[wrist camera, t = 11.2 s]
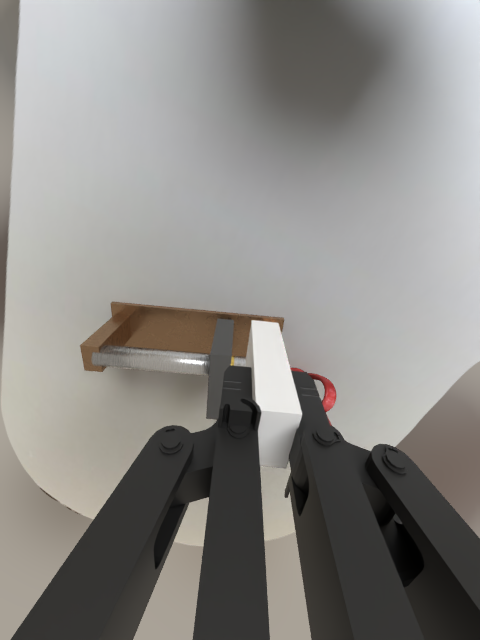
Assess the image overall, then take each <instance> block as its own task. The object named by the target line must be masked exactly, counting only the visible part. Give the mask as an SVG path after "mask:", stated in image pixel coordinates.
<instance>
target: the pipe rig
mask: <svg viewBox="0 0 480 640" xmlns="http://www.w3.org/2000/svg"><path fill="white" fill-rule="evenodd" d="M111 310H112V318H111V319H110V320H109V321H107V322H106V323H105V324H104V325H103V326H102V327H101V328H99V329H98V330H97V331H96V332H95V333H94V334H93V335H91V336H90V337H89V338H88V339H87V340H86V341H85V342H83V343H82V344H81V345H80V347H81V353H82V358H83V364H84V369H85V370H86V371H98V372H103V370H104V369H105V368H106V367H112V368H124V369H136V370H148V371H159V372H171V373H183V374H195V375H207V376H209V366H210V353H211V348H212V343H213V338H214V333H215V328H216V324H217V319H228V320H234V328H233V344H232V359H231V365H233V366H243V367H246V355H247V348H248V341H249V335H250V328H251V321H252V320H256V321H265V322H275V323H279V327H280V331H281V334H282V329H283V323H284V318H280V317H269V316H258V315H248V314H237V313H226V312H216V311H205V310H195V309H184V308H173V307H163V306H152V305H141V304H131V303H120V302H112V303H111ZM123 346H129V347H123ZM135 347H140V348H135ZM146 348H151V349H146ZM157 349H163V350H157ZM169 350H174V351H169ZM180 351H186V352H180ZM192 352H197V353H192ZM203 353H208V354H203ZM237 356H242V357H237ZM288 361H289V360H288Z"/></svg>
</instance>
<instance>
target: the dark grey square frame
mask: <svg viewBox="0 0 480 640" xmlns="http://www.w3.org/2000/svg"><path fill="white" fill-rule="evenodd" d="M233 328H234V320H228V319H217V324H216V328H215V333H214V338H213V343H212V348H211V353H210V366H209V382H208V399H207V415H206V419H218V417H219V408H220V404H221V395H222V387H223V378H224V372H225V370H226V369H227V368H228V367H229V365H231V359H232V344H233Z"/></svg>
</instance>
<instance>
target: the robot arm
mask: <svg viewBox="0 0 480 640" xmlns="http://www.w3.org/2000/svg"><path fill="white" fill-rule="evenodd" d="M288 461H290V467H291V473H290V476H289V480H288V483H287V486H286V489H285V498H288V495H289V492H290V496H291V503H292V510H293V517H294V523H295V530H296V537H297V544H298V550H299V557H300V563H301V570H302V577H303V583H304V591H305V597H306V604H307V611H308V618H309V625H310V631H311V638H312V640H480V538H478V536H477V535H476V534H475V533H474V532H473V530H472V529H471V528H470V527H469V526H468V525H467V523H466V522H465V521H464V520H463V519H462V518H461V516H460V515H459V514H458V513H457V512H456V511H455V509H454V508H453V507H452V506H451V505H450V504H449V502H448V501H447V500H446V499H445V498H444V497H443V496H442V494H441V493H440V492H439V491H438V490H437V489H436V487H435V486H434V485H433V484H432V483H431V482H430V481H429V479H428V478H427V477H426V476H425V475H424V474H423V472H422V471H421V470H420V469H419V468H418V467H417V465H416V464H415V463H414V462H413V461H412V460H411V459H410V458H409V457H408V456H407V455H406V454H405V453H403V452H402V451H400V450H399V449H397V448H396V447H393V446H390V445H387V444H378V445H376V446H374V447H373V449H372V451H368V450H366V449H363V448H360V447H358V446H355V445H352V444H350V443H348V442H346V441H345V440H344V438H343V437H342V435H341V433H340V432H339V431H338V430H337V429H336V428H334V427H333V426H331V425H330V423H329V420H328V418H327V415H326V412H325V410H324V407H323V404H322V402H321V399H320V397H319V393H318V391H317V388H316V385H315V383H314V380H313V379H312V378H311V377H310V376H309V375H308V373H307V372H299V371H291V369H290V365H289V361H288V357H287V354H286V350H285V346H284V342H283V338H282V334H281V331H280V327H279V323H275V322H265V321H256V320H252V321H251V328H250V335H249V341H248V348H247V355H246V367H243V366H233V365H229V367H228V368H227V369H226V370H225V372H224V378H223V387H222V395H221V404H220V408H219V417H218V420H217V421H216V423H215V424H214V425H213V426H212V427H210V428H208V429H206V430H203V431H200V432H195V433H190V432H189V431H188V430H187V429H185V428H184V427H182V426H175V425H172V426H167V427H164V428H162V429H160V430H158V431H157V432H156V433H155V434H154V435H153V436H152V437H151V438H150V439H149V441H148V442H147V444H146V445H145V447H144V448H143V449H142V451H141V452H140V454H139V455H138V457H137V458H136V460H135V461H134V462H133V464H132V465H131V467H130V468H129V470H128V471H127V473H126V474H125V475H124V477H123V478H122V480H121V481H120V483H119V484H118V486H117V487H116V488H115V490H114V491H113V493H112V494H111V496H110V497H109V499H108V500H107V501H106V503H105V504H104V506H103V507H102V509H101V510H100V511H99V513H98V514H97V516H96V517H95V519H94V520H93V522H92V523H91V524H90V526H89V528H88V529H87V530H86V532H85V533H84V535H83V536H82V538H81V539H80V540H79V542H78V543H77V545H76V546H75V548H74V549H73V551H72V552H71V553H70V555H69V556H68V558H67V559H66V561H65V562H64V563H63V565H62V566H61V568H60V569H59V571H58V572H57V574H56V575H55V576H54V578H53V579H52V581H51V583H50V584H49V585H48V587H47V588H46V589H45V591H44V592H43V594H42V595H41V597H40V598H39V599H38V601H37V602H36V604H35V605H34V607H33V608H32V610H31V611H30V612H29V614H28V615H27V617H26V618H25V620H24V621H23V623H22V624H21V626H20V627H19V628H18V630H17V631H16V633H15V634H14V636H13V637H12V639H11V640H133V638H134V636H135V633H136V631H137V628H138V626H139V624H140V621H141V619H142V616H143V614H144V611H145V609H146V607H147V604H148V602H149V599H150V597H151V594H152V592H153V590H154V587H155V585H156V582H157V580H158V578H159V575H160V572H161V570H162V568H163V565H164V563H165V560H166V558H167V556H168V553H169V551H170V548H171V546H172V544H173V541H174V539H175V536H176V534H177V532H178V529H179V527H180V524H181V522H182V519H183V517H184V515H185V512H186V510H187V507H188V505H189V502H193V501H196V500H200V499H203V498H207V497H209V504H208V513H207V522H206V530H205V539H204V547H203V556H202V565H201V573H200V582H199V591H198V599H197V608H196V616H195V625H194V633H193V640H270V635H269V617H268V600H267V582H266V565H265V547H264V530H263V512H262V495H261V477H260V466H265V467H276V468H287V464H288Z"/></svg>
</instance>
